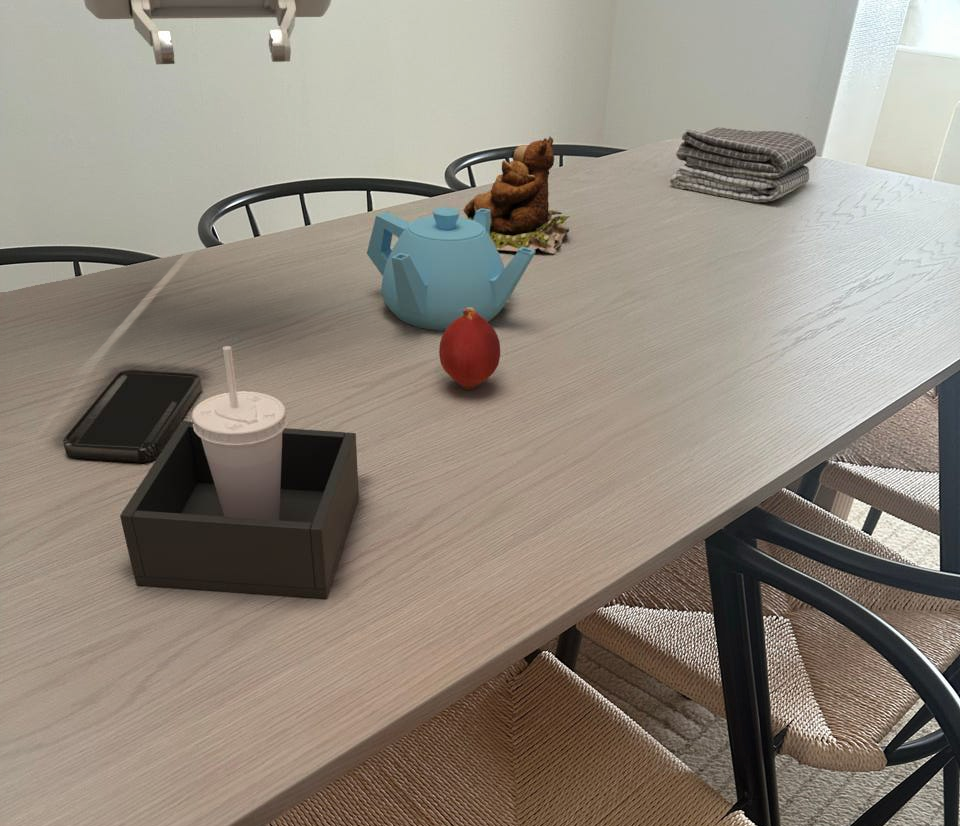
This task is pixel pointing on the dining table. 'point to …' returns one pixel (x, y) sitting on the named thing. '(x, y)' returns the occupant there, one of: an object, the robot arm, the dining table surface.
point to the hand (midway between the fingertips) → (224, 58)
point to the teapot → (443, 267)
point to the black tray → (244, 520)
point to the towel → (743, 163)
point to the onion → (469, 349)
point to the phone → (133, 416)
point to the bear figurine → (522, 202)
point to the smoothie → (243, 447)
